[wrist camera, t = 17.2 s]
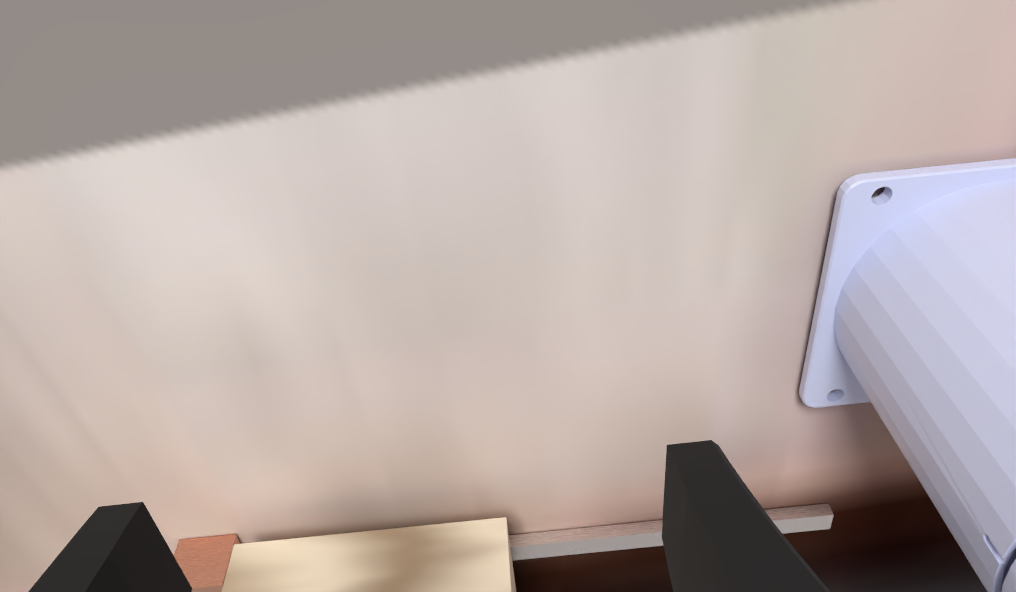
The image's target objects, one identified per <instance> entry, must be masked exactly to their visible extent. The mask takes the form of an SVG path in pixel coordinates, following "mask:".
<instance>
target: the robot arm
mask: <svg viewBox="0 0 1016 592" xmlns="http://www.w3.org/2000/svg"><path fill="white" fill-rule="evenodd" d="M881 187H885V189H884V191H883V192H882V193H881V194H880V195H879V196H876V197H872V195H873V193H874V192H875V191H876V190H877V189H878V188H881ZM835 389H836V390H835ZM832 390H835V391H834V392H831V391H832ZM829 392H830V393H829ZM799 395H800V397H801V399H802V401H803V403H804V404H805V405H806V406H809V407H816V408H817V407H827V406H837V405H847V404H857V403H867V402H871V403H872V405H873V406H874V408H875V410H876V411H877V413H878V414H879V416H880V418H881V419H882V421H883V423H884V424H885V426H886V428H887V429H888V431H889V432H890V434H891V436H892V437H893V439H894V441H895V442H896V444H897V445H898V447H899V449H900V450H901V452H902V454H903V455H904V457H905V458H906V460H907V462H908V463H909V465H910V467H911V468H912V470H913V471H914V473H915V475H916V476H917V478H918V480H919V481H920V483H921V484H922V486H923V488H924V489H925V491H926V493H927V494H928V496H929V497H930V499H931V501H932V502H933V504H934V506H935V507H936V509H937V510H938V512H939V514H940V515H941V517H942V519H943V520H944V522H945V524H946V525H947V527H948V528H949V530H950V532H951V533H952V535H953V537H954V538H955V540H956V541H957V543H958V545H959V546H960V548H961V550H962V551H963V553H964V554H965V556H966V558H967V559H968V561H969V563H970V564H971V566H972V567H973V569H974V571H975V572H976V574H977V576H978V577H979V579H980V580H981V582H982V584H983V585H984V587H985V589H986V590H987V592H1016V158H1012V159H1002V160H993V161H983V162H973V163H963V164H953V165H943V166H933V167H924V168H914V169H904V170H894V171H884V172H874V173H865V174H858V175H854V176H852V177H850V178H848V179H847V180H845V181H844V182H843V184H842V185H841V186H840V187H839V190H838V192H837V196H836V202H835V207H834V212H833V217H832V222H831V228H830V233H829V238H828V243H827V248H826V254H825V259H824V264H823V269H822V274H821V280H820V285H819V290H818V295H817V300H816V306H815V311H814V316H813V321H812V326H811V332H810V337H809V342H808V347H807V352H806V357H805V363H804V368H803V373H802V378H801V383H800V389H799ZM662 541H663V546H664V550H665V555H666V560H667V565H668V569H669V574H670V579H671V583H672V588H673V592H830V591H829V589H828V588H827V587H826V586H825V585H824V584H823V582H822V581H821V580H820V579H819V578H818V576H817V575H816V574H815V573H814V572H813V570H812V569H811V568H810V567H809V566H808V564H807V563H806V562H805V561H804V560H803V558H802V557H801V556H800V555H799V554H798V552H797V551H796V550H795V549H794V548H793V546H792V545H791V544H790V543H789V541H788V540H787V539H786V538H785V536H784V535H783V534H782V533H781V531H780V530H779V529H778V527H777V526H776V525H775V524H774V522H773V521H772V520H771V518H770V517H769V516H768V514H767V513H766V512H765V510H764V509H763V508H762V507H761V505H760V504H759V503H758V501H757V500H756V499H755V497H754V496H753V494H752V493H751V492H750V490H749V489H748V488H747V486H746V485H745V483H744V482H743V481H742V479H741V478H740V476H739V475H738V474H737V472H736V471H735V469H734V468H733V466H732V465H731V463H730V462H729V461H728V459H727V458H726V456H725V455H724V453H723V452H722V450H721V448H720V447H719V445H717V444H716V443H714V442H713V441H712V440H709V441H700V442H691V443H681V444H672V445H667V454H666V471H665V488H664V506H663V523H662ZM29 592H192V587H191V585H190V584H189V582H188V580H187V578H186V577H185V575H184V573H183V571H182V570H181V568H180V566H179V564H178V563H177V561H176V559H175V557H174V556H173V554H172V552H171V550H170V549H169V547H168V545H167V543H166V542H165V540H164V538H163V536H162V535H161V533H160V531H159V529H158V528H157V526H156V524H155V522H154V521H153V519H152V517H151V515H150V514H149V512H148V510H147V508H146V507H145V505H144V503H143V502H139V503H130V504H121V505H111V506H102V507H98V508H97V510H96V511H95V512H94V513H93V514H92V515H91V517H90V518H89V519H88V520H87V521H86V522H85V524H84V525H83V526H82V527H81V529H80V530H79V531H78V532H77V533H76V535H75V536H74V537H73V538H72V539H71V541H70V542H69V543H68V544H67V545H66V547H65V548H64V549H63V550H62V551H61V553H60V554H59V555H58V556H57V558H56V559H55V560H54V561H53V562H52V564H51V565H50V566H49V567H48V569H47V570H46V571H45V572H44V573H43V575H42V576H41V577H40V578H39V580H38V581H37V582H36V583H35V584H34V586H33V587H32V588H31V589H30V590H29Z"/></svg>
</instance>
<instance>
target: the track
mask: <svg viewBox="0 0 1016 592" xmlns="http://www.w3.org/2000/svg"><path fill="white" fill-rule="evenodd" d="M765 512H766V513H767V514H768V516H769V517H770V518H771V520H772V521H773V522H774V524H775V525H776V526H777V527H778V529H779V530H780V531H781V533H782V534H783V533H793V532H803V531H813V530H823V529H830V527H831V523H832V519H833V516H834V514H833V512H832V510H831V508H830V506H829V504H818V505H808V506H798V507H788V508H778V509H768V510H765ZM662 523H663V520H658V521H648V522H638V523H628V524H618V525H608V526H598V527H588V528H578V529H568V530H558V531H548V532H538V533H528V534H518V535H509V541H510V549H511V556H512V561H513V560H523V559H533V558H543V557H553V556H563V555H573V554H583V553H593V552H603V551H613V550H623V549H633V548H643V547H653V546H663V541H662ZM234 544H241V543H240V541H239V539H238V537H237V535H236V534H232V535H222V536H212V537H202V538H192V539H182V540H179V542H178V545H177V548H176V551H175V554H174V557H175V559H176V561H177V563H178V564H179V566H180V568H181V570H182V571H183V573H184V575H185V577H186V578H187V580H188V582H189V584H190V585H191V587H192V592H222V588H223V584H224V580H225V577H226V573H227V569H228V565H229V562H230V558H231V554H232V550H233V547H234Z"/></svg>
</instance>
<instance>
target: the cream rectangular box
mask: <svg viewBox="0 0 1016 592" xmlns="http://www.w3.org/2000/svg"><path fill="white" fill-rule="evenodd" d="M222 592H516V586H515V578H514V571H513V563H512V556H511V549H510V541H509V534H508V526H507V519H506V517H503V518H493V519H483V520H473V521H463V522H453V523H443V524H433V525H423V526H413V527H403V528H393V529H383V530H373V531H363V532H353V533H343V534H333V535H323V536H313V537H303V538H293V539H283V540H273V541H263V542H253V543H243V544H234V547H233V550H232V554H231V558H230V562H229V565H228V569H227V573H226V577H225V580H224V584H223V588H222Z"/></svg>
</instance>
